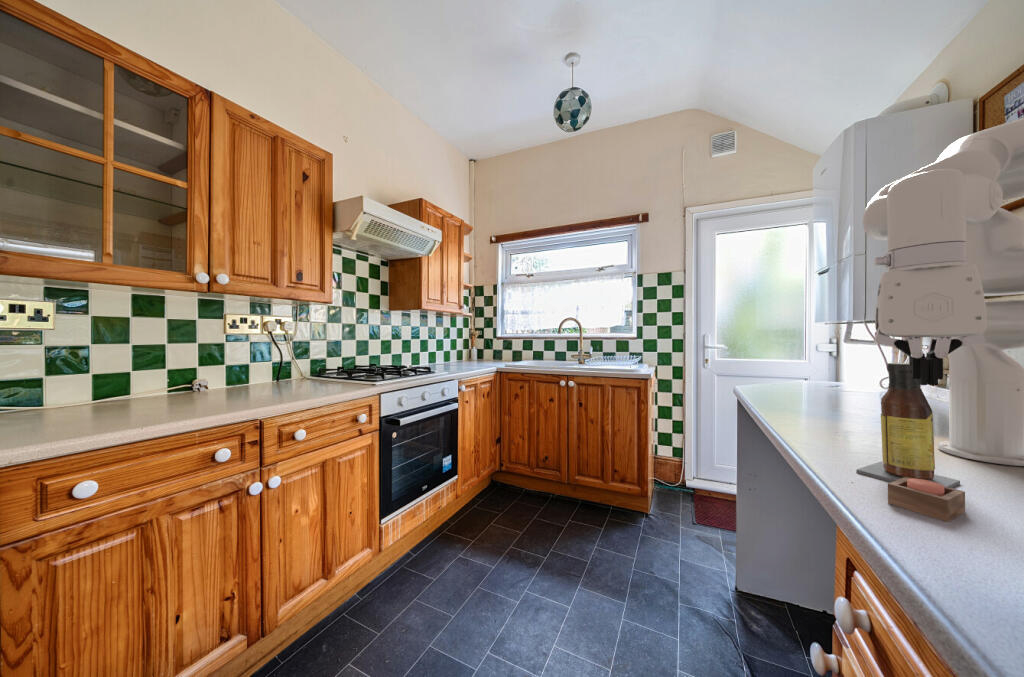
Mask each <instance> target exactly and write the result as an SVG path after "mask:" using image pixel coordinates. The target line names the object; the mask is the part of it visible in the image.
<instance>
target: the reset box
mask: <svg viewBox="0 0 1024 677" xmlns="http://www.w3.org/2000/svg"><path fill="white" fill-rule="evenodd" d="M907 479H910V477H904V478H901V479H899V480H896V481H894V482H888V483H887V504H888V505H892V504H893V505H892V506H896V507H899V508H902V509H905V510H908V511H912V512H914V513H918V514H921V515H924V516H927V517H928V516H929V517H931V518H934V519H938V520H939V521H943V522H947V523H949V522H950V521H952V520H953V519H956V518H957V517H959V516H961V515H963V514H964V513H965V514H966V491H963V490H959V489H956V488H954V487H953V488H949V487H945V486H944V496H942V497H941V496H937V495H933V494H930V493H926V492H922V491H919V490H915V489H911V488H908V487H907Z"/></svg>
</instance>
